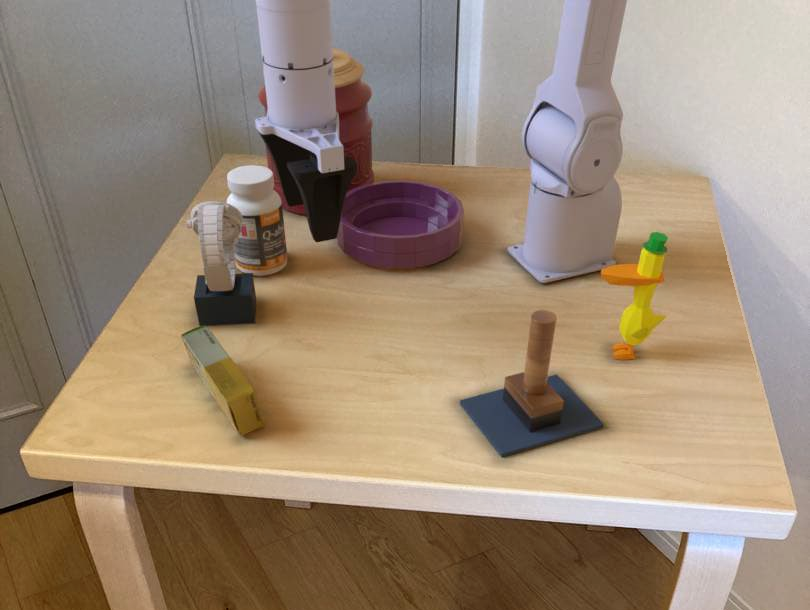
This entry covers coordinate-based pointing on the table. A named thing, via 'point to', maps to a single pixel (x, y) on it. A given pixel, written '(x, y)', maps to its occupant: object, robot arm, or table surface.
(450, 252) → the bowl
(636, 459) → the table surface
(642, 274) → the toy figure
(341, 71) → the kitchen canister
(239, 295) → the watch
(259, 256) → the pill bottle
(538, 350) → the wooden peg on base
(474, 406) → the mat
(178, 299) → the table surface
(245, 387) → the medication box
